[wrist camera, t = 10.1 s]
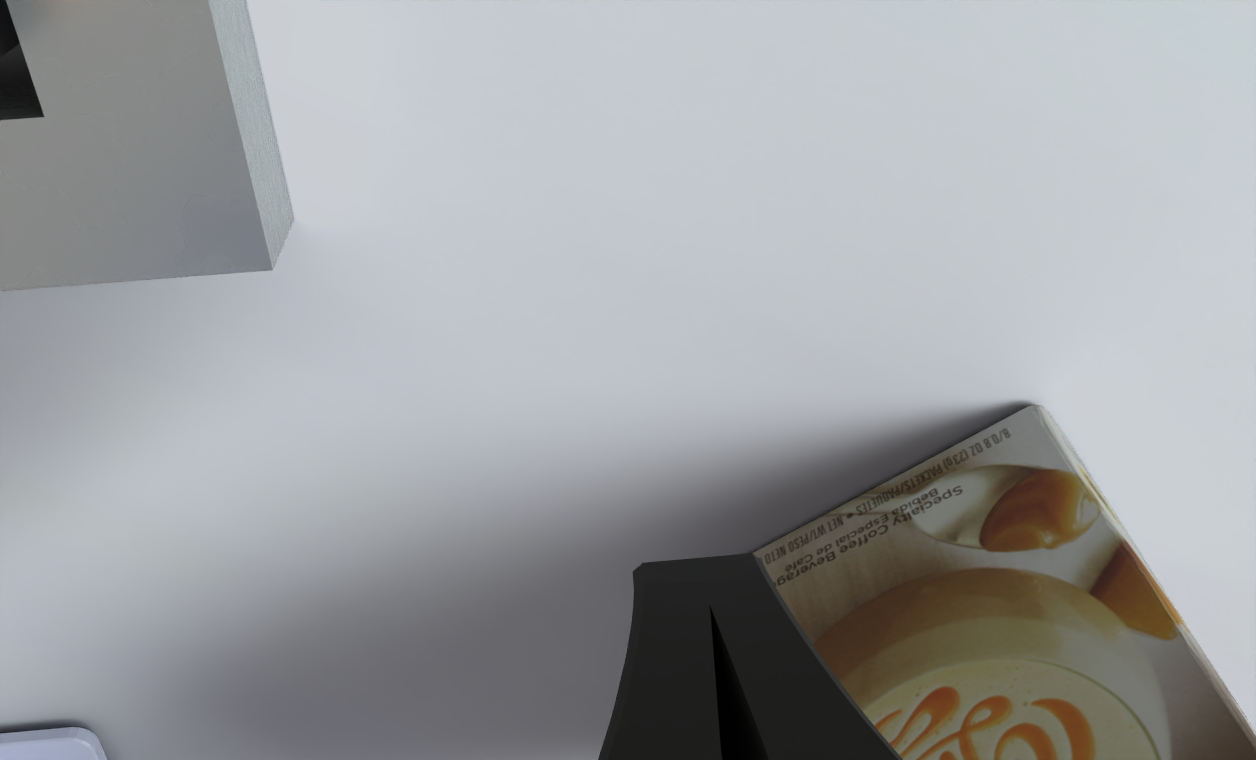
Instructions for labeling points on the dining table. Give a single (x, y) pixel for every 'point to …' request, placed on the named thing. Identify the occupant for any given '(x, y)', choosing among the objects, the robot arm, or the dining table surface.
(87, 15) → the socket plate
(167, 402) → the dining table surface
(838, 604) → the coffee box
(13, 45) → the plug
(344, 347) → the dining table surface
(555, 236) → the dining table surface
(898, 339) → the dining table surface
